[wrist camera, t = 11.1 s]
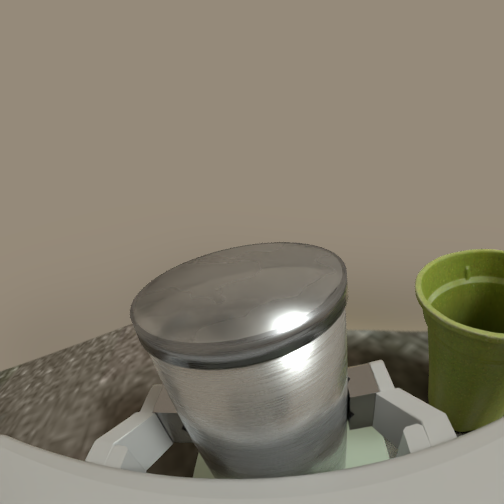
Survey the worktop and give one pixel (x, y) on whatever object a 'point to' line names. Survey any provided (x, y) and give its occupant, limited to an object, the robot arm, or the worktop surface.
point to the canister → (254, 356)
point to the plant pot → (465, 335)
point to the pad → (357, 452)
